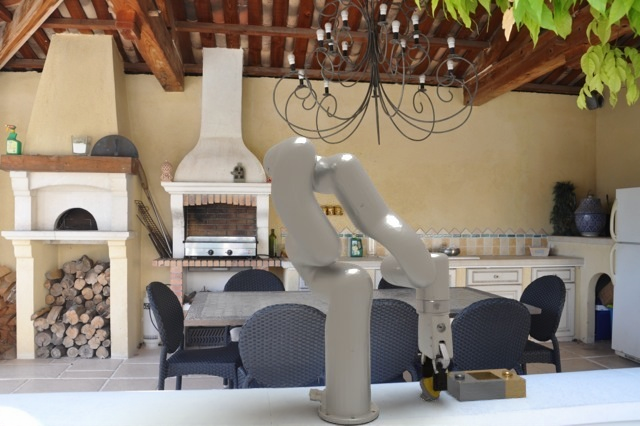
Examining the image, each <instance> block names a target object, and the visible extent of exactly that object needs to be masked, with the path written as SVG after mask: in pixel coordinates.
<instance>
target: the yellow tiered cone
mask: <svg viewBox="0 0 640 426" xmlns="http://www.w3.org/2000/svg"><path fill="white" fill-rule="evenodd" d="M450 372H451V371H448V373H447V378H448V376H449V374H450ZM419 387H420V389H421V393H420V396H419V398H420V397H421V398H422V399H421V398H420V399H421V400H423V399H424V400H425V401H424V400H423V401H424V402H426V401H427V400H428V399H430V400H431V401H434V402H435V400H436V401H437V400H438V399H440V397H441V395H440V394H441V393H442V391H434V390H433V377H430V378H423V379H422V378H421V379H420V380H419Z"/></svg>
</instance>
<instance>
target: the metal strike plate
mask: <svg viewBox="0 0 640 426" xmlns="http://www.w3.org/2000/svg"><path fill="white" fill-rule="evenodd" d="M449 372H450V374H449V376H448V378H447V388H448V389H447V391H446V392H447V393H449V394H450V395H451V394H452V397H454V398H455V397H456V398H457V399H456V398H455V399H456V400H457V401H459V402H470V401H472V402H474V401H485V400H486V401H487V400H500V399H501V400H502V399H503V400H504V399H518V398H526V397H527V379H525V378H524V377H522V376H520V375H518V374H516V373H515V372H513V371H512V370H509V369H507V368H497V369H496V368H495V369H478V370H475V369H474V370H461V371H460V370H459V371H458V370H457V371H449Z"/></svg>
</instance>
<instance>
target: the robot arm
mask: <svg viewBox="0 0 640 426" xmlns="http://www.w3.org/2000/svg"><path fill="white" fill-rule="evenodd" d="M262 165H263V169H264V172H265V174H266V175H267V176H268V178H270V179H271V180H270V181H271V182H270V195H271V201H272V202H271V203H272V206H273V207H274V211H275V212H276V214H277V216H278V218H279V219H280V222H281V223H282V225H283V227H284V229H285V230H286V235H285V237H284V242H283V243H284V251H285V253H286V256H287V257H288V260H289V262H290V263H291V265H292V266H293V268H294V270H295V271H296V273H298V276H299V277H300V278H301V280H302V281H303V283H304V284H305V286H306V287H307V289H308V290H309V291H310V292H311V294H312V295H313V296H314V297H315V298H316V299H317V300H319V301H321V302H323V303H324V304H328V307H327V313H326V316H325V322H324V323H325V325H324V348H325V349H324V350H325V351H324V353H325V354H324V355H325V356H324V359H325V363H324V365H325V388H324V389H323V390H321V389H318V388H310V389H309V391H308V396H309V401H311V402H319V403H320V405H319V407H318V415H319V417H320V418H321V419H323V420H324V421H326V422H330V423H332V424H338V425H360V424H361V425H362V424H366V423H369V422H372V421H373V420H376V418H378V416H379V409H380V408H379V407H378V406H377V405H376V404H375V403H373V402H372V398H371V397H372V395H371V394H372V391H371V390H372V389H371V388H372V384H371V383H372V381H371V380H372V379H371V376H372V375H371V313H372V305H373V300H374V289H375V288H374V283H373V279H372V276H370V274H369V273H368V271H367V270H366V269H364V268H363V267H362V266H360V265H359V264H355V263H349V262H345V261H344V262H342V261H340V262H339V259H340V258H341V256H342V254H343V242H342V239H341V237H340V235H339V233H338V231H337V230H336V228H335V226H333V224H332V222H331V220H330V218H329V217H328V216H327V215H326V212H325V211H324V210H323V207H321V205H320V203H319V201H318V199H317V198H316V196H315V193H317V194H323V195H334V198H336V200H337V201H338V203H339V204H340V206H341V207H342V209H343V211H344V212H345V214H346V215H347V217H348V219H349V220H350V222H351V224H352V225H353V227H354V228H355V230H358V231H359V233H361V234H363V235H365V236H366V237H368V238H370V239H372V240H374V241H375V242H376V243H379V244H380V245H382V247H384V248H385V249H386V250H387V251H388V252H389V254H388V255H386V256H385V257H384V258H383V259H382V261H381V262H380V265H379V271H380V275H381V277H382V278H383V280H384V281H386V282H387V283H389V284H391V285H394V286H398V287H403V288H411V289H415V297H416V298H415V303H416V304H415V305H416V314H417V315H418V322H417V323H418V325H417V341H418V342H417V345H418V349H419V351H420V355H421V360H420V363H421V380H422V379H423V378H430V377H433V390H434V391H441V392H448V391H447V389H448V388H447V373H448V372H449V370H448V369H449V365H450V363H451V360H452V359H453V358H454V352H453V351H454V349H453V346H454V345H453V333H452V326H451V325H452V324H451V319H450V314H451V305H450V304H451V303H450V301H451V299H450V298H451V296H450V294H451V293H450V259H449V256H448V255H447V254H446V253H443V252H430V251H429V250H428V247H427V245H426V244H425V243H424V241H423V240H422V238H421V237H420V235H419V234H418V233H417V231H415V230H414V229H413V227H411V226H410V225H409V224H408V223H407V222H405V220H404V219H402V217H400V216H399V215H398V214H397V213H395V212H394V211H393V210H392V209H391V208H390V207H389V206H388V205H387V203H386V201H385V199H384V198H383V195H381V193H380V191H379V190H378V188H377V186H376V184H375V183H374V182H373V180H372V178H371V177H370V175H369V173H368V172H367V170H366V169H365V167H364V166H363V164H362V162H361V161H360V159H359V158H358V157H357V156H356V155H354V154H352V153H349V152H339V153H335V154H332V155H329V156H321V155H318V150H317V148H316V146H315V144H314V143H313V142H312V140H310V139H309V138H307V137H305V136H301V135H299V136H298V135H297V136H292V137H289V138H286V139H284V140H282V141H281V142H279V143H277V144H274V145H272V146H271V147H270V148H269V149H268V150H267V151H266V152H265V154H264V157H263V162H262ZM438 362H439V363H438Z"/></svg>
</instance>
